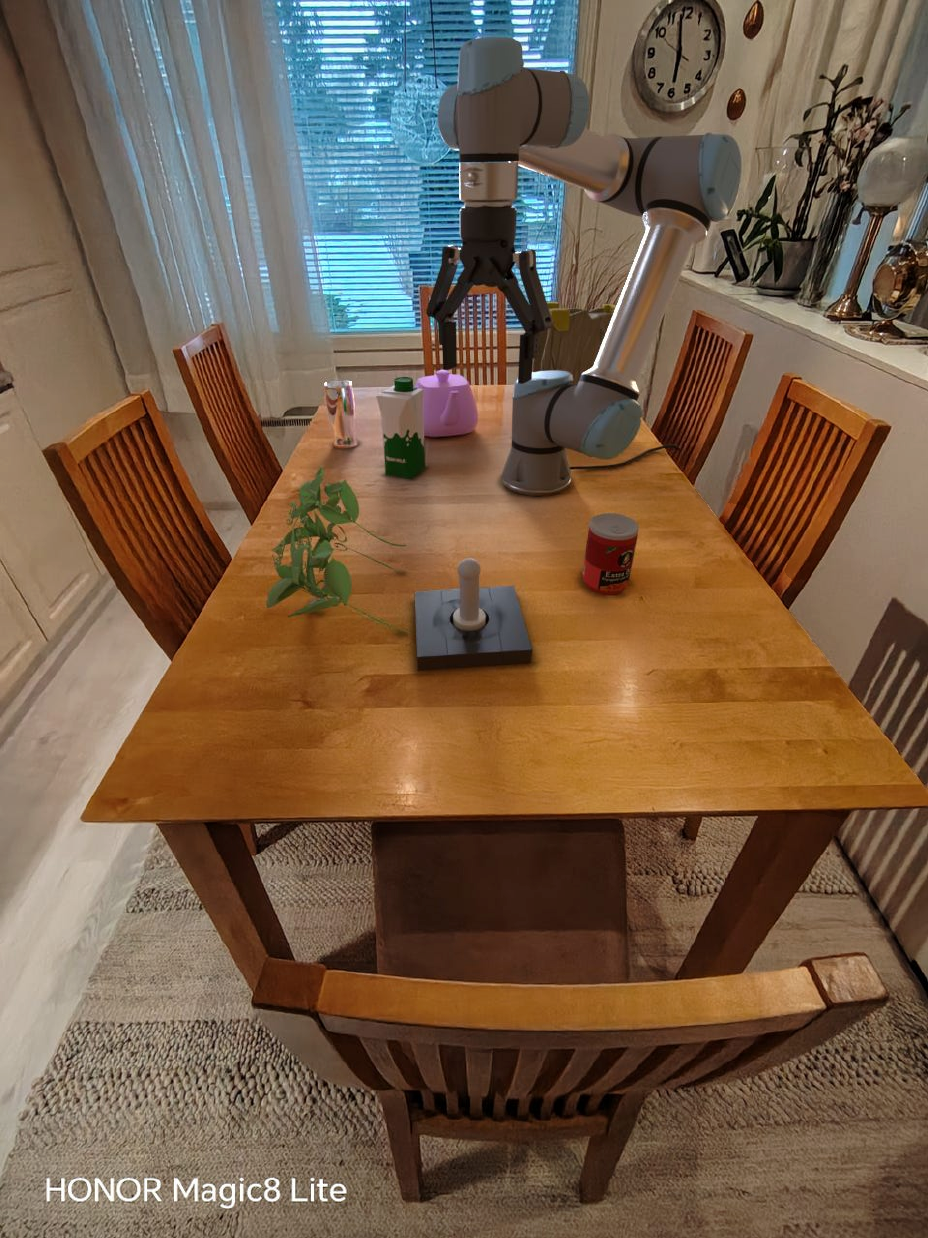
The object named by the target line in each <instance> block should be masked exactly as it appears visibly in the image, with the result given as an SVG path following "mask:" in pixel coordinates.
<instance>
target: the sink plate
mask: <svg viewBox="0 0 928 1238" xmlns="http://www.w3.org/2000/svg"><path fill="white" fill-rule="evenodd" d="M413 595H414V612H415V613H414V615H415V616H414V617H415V641H416V661H417V662H416V663H417V670H418V671H431V670H432V671H433V670H446V669H447V670H448V669H461V668H463V669H464V668H476V667H490V666H493V667H494V666H502V665H506V666H507V665H519V664H531V663H532V659H533V647H532V644H531V640H530V637H529V633H528V629H527V626H526V623H525V618H524V614H523V612H522V608H521V604H520V601H519V598H518V593H517V590H516V588H515V585H500V586H483V587H479V608H480V609H482V610H483V611H484V613H485V616H486V619H485V627H483V628H481V629H478V630H474V631H465V630H460V629H458V628H456V627H454V626H453V614H454V612H455V611H456V610H457V609H459V608H460V589H459V588H451V589H450V588H449V589H448V588H447V589H446V588H445V589H432V590H428V589H427V590H415V591H414V594H413Z"/></svg>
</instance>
